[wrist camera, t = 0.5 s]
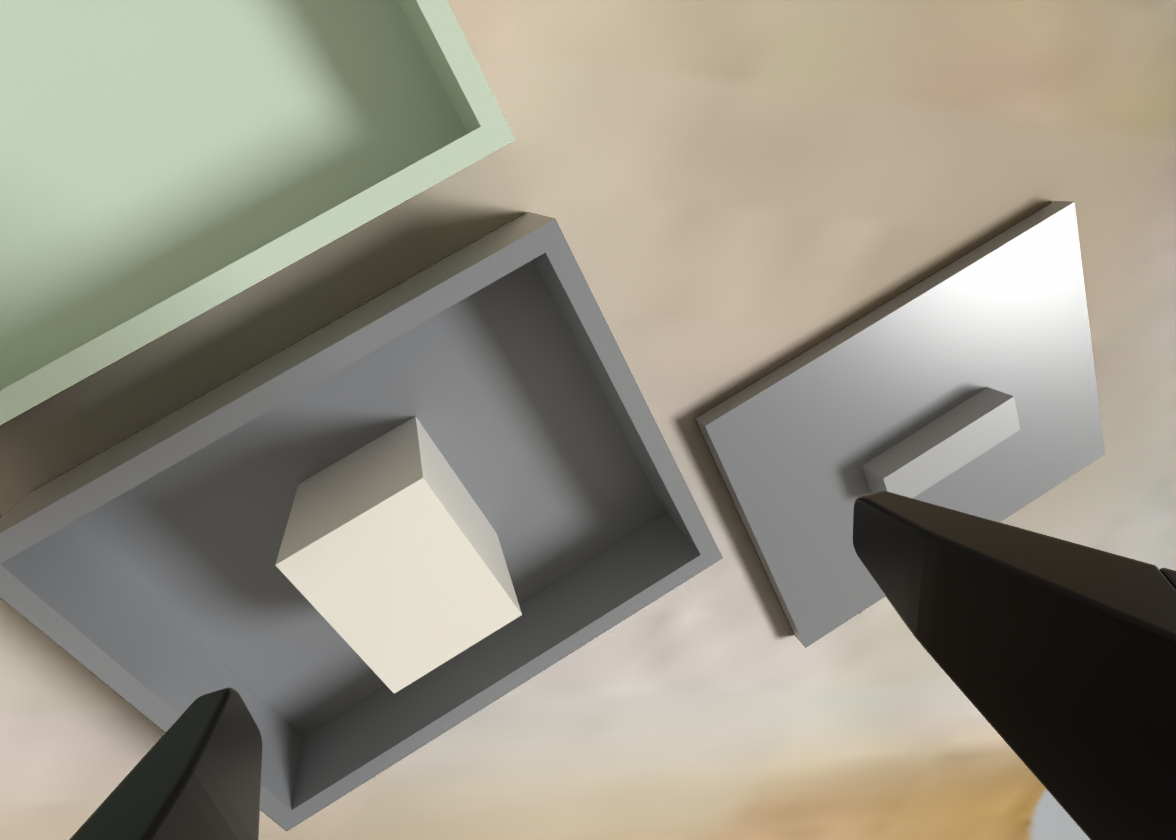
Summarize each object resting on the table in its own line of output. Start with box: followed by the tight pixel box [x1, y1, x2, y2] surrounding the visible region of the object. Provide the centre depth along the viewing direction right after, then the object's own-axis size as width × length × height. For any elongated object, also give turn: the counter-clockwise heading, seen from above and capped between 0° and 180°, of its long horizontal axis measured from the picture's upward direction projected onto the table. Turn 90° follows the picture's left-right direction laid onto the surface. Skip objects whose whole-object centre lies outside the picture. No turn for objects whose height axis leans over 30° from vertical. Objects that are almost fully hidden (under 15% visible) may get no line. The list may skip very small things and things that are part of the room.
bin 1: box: [0, 0, 516, 425], centre depth 14 cm, size 16×12×4 cm
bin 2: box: [0, 212, 722, 831], centre depth 20 cm, size 16×12×4 cm
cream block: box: [275, 416, 522, 694], centre depth 19 cm, size 4×5×4 cm
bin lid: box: [695, 201, 1105, 648], centre depth 26 cm, size 16×12×2 cm
